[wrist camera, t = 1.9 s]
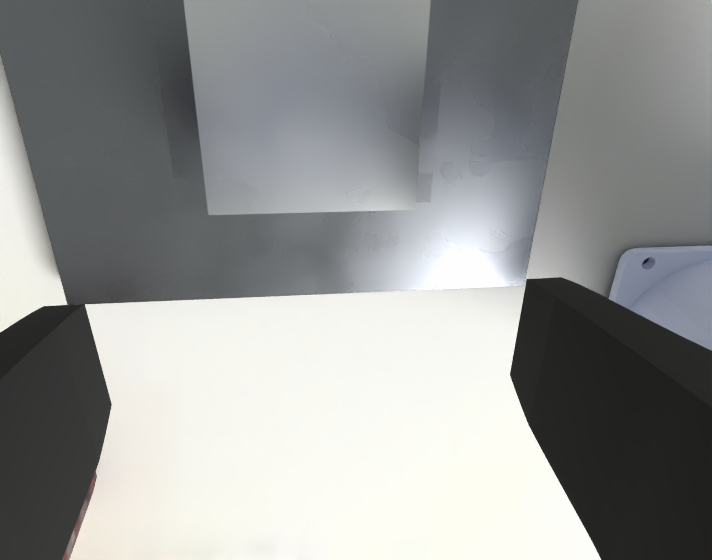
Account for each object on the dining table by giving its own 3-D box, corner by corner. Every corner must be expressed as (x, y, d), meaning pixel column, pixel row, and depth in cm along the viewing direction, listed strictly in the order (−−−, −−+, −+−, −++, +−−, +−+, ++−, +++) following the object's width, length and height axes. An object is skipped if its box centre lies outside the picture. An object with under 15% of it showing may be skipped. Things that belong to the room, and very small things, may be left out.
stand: (615, -300, 14) (746, -400, 10) (514, 272, 22) (565, 340, 18) (-88, -356, 12) (-261, -505, 8) (76, 289, 20) (27, 369, 16)
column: (372, -32, 16) (438, -26, 9) (367, 120, 18) (419, 214, 11) (219, -35, 15) (173, -31, 9) (232, 121, 18) (203, 220, 11)
